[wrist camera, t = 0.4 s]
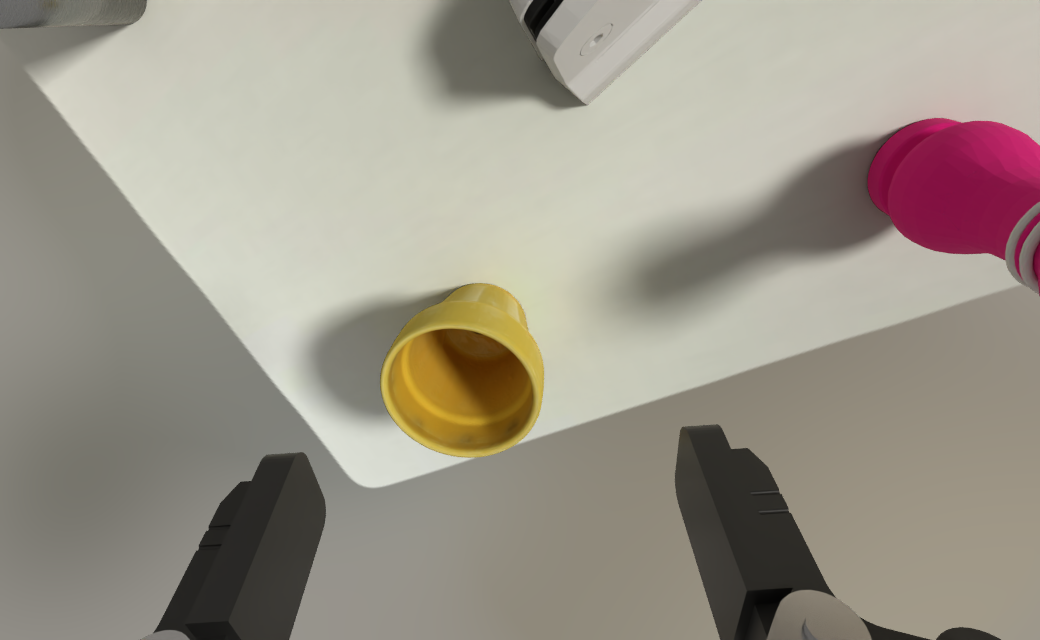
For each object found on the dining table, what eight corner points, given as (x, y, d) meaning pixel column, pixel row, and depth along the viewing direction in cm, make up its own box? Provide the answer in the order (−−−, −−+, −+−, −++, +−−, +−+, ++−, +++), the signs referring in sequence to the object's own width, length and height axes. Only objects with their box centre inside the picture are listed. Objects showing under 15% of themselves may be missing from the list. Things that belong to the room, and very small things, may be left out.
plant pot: (389, 319, 44) (345, 393, 36) (475, 230, 40) (448, 290, 32) (487, 397, 47) (468, 483, 39) (576, 322, 43) (577, 399, 34)
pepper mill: (876, 109, 34) (1193, 213, 17) (1002, 108, 34) (1468, 215, 16) (845, 223, 38) (1081, 408, 20) (959, 224, 37) (1304, 415, 20)
